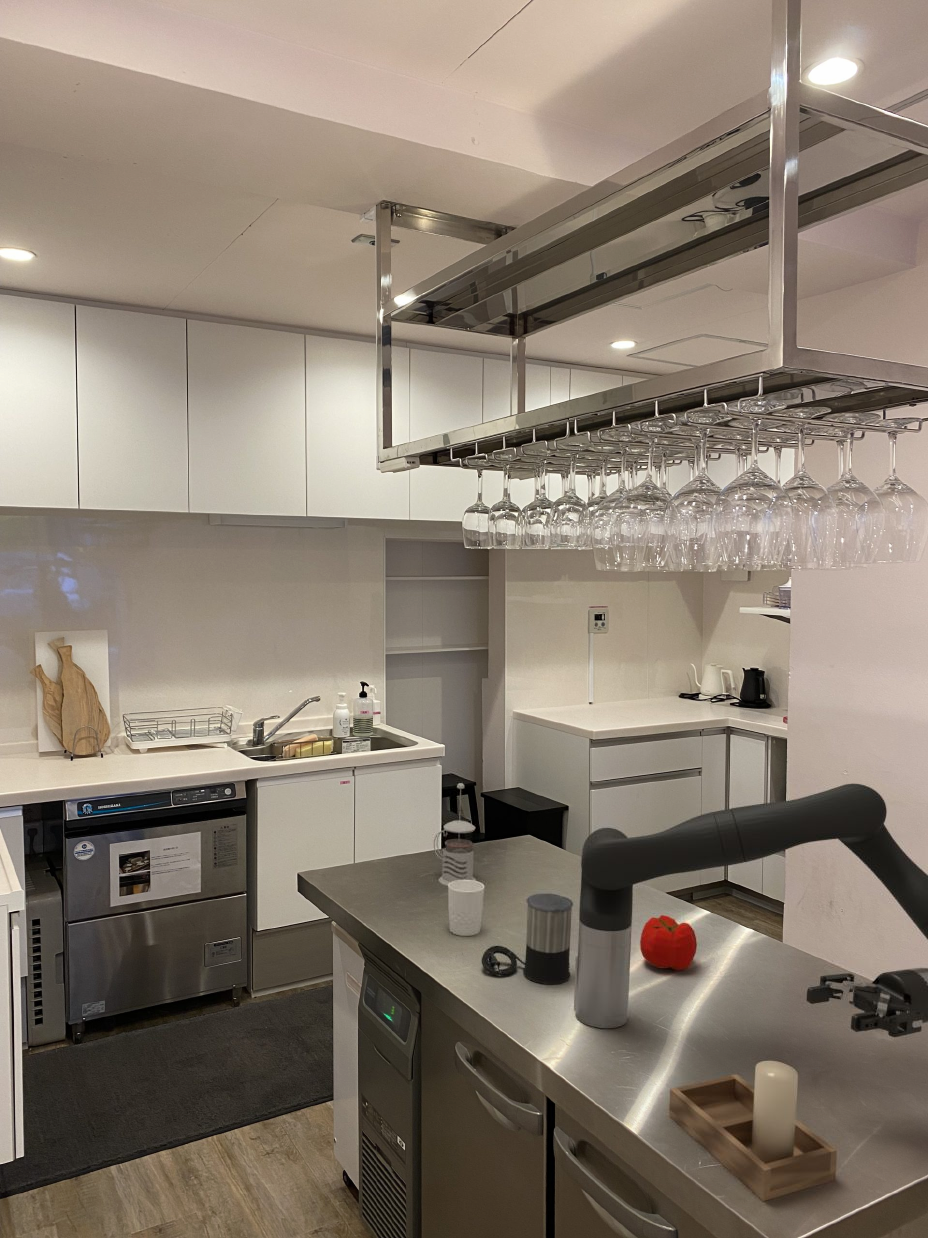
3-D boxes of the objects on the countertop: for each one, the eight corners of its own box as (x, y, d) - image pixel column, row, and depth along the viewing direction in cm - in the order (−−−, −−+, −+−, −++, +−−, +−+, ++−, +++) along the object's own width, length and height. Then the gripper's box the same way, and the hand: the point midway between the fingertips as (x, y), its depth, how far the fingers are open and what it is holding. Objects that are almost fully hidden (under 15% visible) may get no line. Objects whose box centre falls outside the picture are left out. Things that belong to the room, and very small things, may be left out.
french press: (466, 889, 233) (470, 789, 232) (425, 881, 238) (428, 783, 237) (483, 878, 242) (486, 782, 241) (442, 871, 247) (445, 776, 246)
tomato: (627, 960, 193) (629, 917, 193) (671, 950, 199) (673, 908, 199) (663, 981, 184) (665, 935, 184) (708, 969, 190) (710, 925, 190)
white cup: (463, 940, 201) (464, 894, 200) (439, 929, 207) (440, 884, 206) (490, 932, 206) (491, 887, 206) (466, 921, 212) (467, 877, 212)
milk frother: (580, 980, 183) (583, 905, 182) (510, 995, 176) (513, 917, 175) (540, 953, 196) (542, 883, 195) (473, 966, 188) (476, 893, 187)
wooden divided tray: (669, 1116, 138) (670, 1089, 138) (735, 1100, 143) (736, 1074, 142) (763, 1201, 119) (764, 1170, 119) (835, 1180, 124) (836, 1150, 124)
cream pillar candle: (742, 1151, 128) (746, 1065, 128) (773, 1143, 130) (778, 1058, 130) (770, 1175, 123) (774, 1085, 123) (802, 1166, 125) (806, 1078, 125)
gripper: (878, 952, 146) (796, 963, 140) (958, 992, 133) (871, 1006, 127) (874, 999, 147) (792, 1012, 140) (953, 1044, 134) (866, 1060, 127)
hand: (830, 1009), depth 134 cm, fingers open, 8 cm apart
